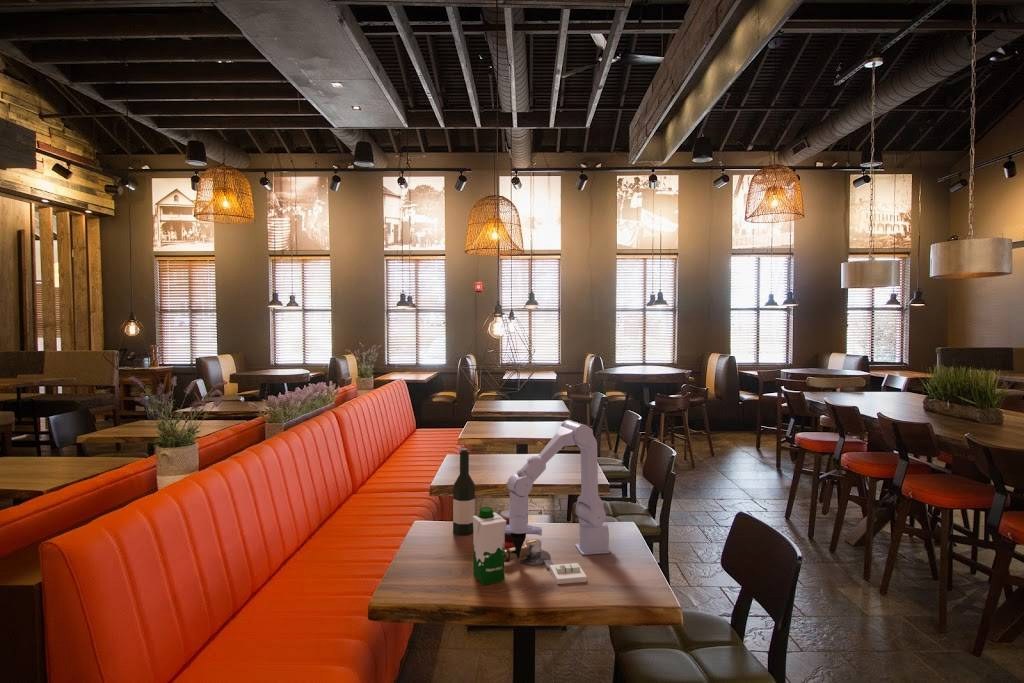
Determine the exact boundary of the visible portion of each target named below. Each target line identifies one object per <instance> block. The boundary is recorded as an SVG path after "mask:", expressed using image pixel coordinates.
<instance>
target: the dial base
mask: <svg viewBox="0 0 1024 683" xmlns="http://www.w3.org/2000/svg"><path fill="white" fill-rule="evenodd" d="M551 558H552V557H551V554H550V553H549V552H548V551H547V550H544V549H541V557H540V558H534V559H531V558H528V557H523V558H519V559H516V560H517V562H519V563H520V564H523V565H526V566H534V567H535V566H542V565H544V566H545V569H546V570H547V571H550V570H549V565H554V563H553V561H552V560H551Z"/></svg>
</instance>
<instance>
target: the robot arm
mask: <svg viewBox="0 0 1024 683" xmlns="http://www.w3.org/2000/svg"><path fill="white" fill-rule="evenodd" d="M575 445H576V446H577V447H578V448H579V449H580V477H581V478H580V486H581V487H580V488H581V489H580V490H581V493H580V495H579V496H577V503H576V506H575V511H574V512H575V514H576V516H577V517H578V521H579V527H578V528H579V531H578V532H579V533H578V536H579V538H578V543H575V544H574V545H575V547H576V548H577V550H578V551H579V552H580V554H581V555H582V556H585V555H600V554H601V555H602V554H609V553H610V546H609V545H610V544H609V543H610V532H609V526H608V524H607V522H606V519H607V513H606V510H605V508H604V502H603V501H602V499H601V497H600V496H599V482H598V481H599V475H598V473H599V472H598V470H599V469H598V468H599V467H598V466H599V465H598V442H597V439H596V437H595V436H594V429H592V428H591V427H589V425H586V424H582V423H579V422H576V421H573V420H571V419H567V420H564V421H563V422H562V423H561V425H560V426H558V427H557V428H556V433H555V434H554V435H553V436H552V438H551V439H550V440H549V442H547V444H546V445H545V447H544V448H543V449H542V450H541V452H539V454H538V455H533V456H531V457H529V458H528V459H527V460H526V463H525V464H524V465H522V467H521V468H520V469H518V470H517V471H516V473H514V474H511V475H510V476H509V478H508V479H507V482H506V484H505V485H506V488H507V489H508V491H509V509H510V517H509V525H506V526H505V533H509V534H511V540H512V542H513V544H514V546H515V549H516V553H517V558H519V556H520V551H521V548H522V545H524V542H526V538H527V535H536V536H537V535H538V536H542V535H543V527H542V526H536V525H535V526H534V525H529V521H528V520H529V494H530V493H531V492H532V489H533V485H534V483H535V482H536V480H538V478H539V477H540V476H541V475H542V474H543V473H544V472H545V471H546V469H547V463H548V462H549V461H550V460H552V458H553V457H554V456H555V455H556V454H557V453H558V452H559V451H560V450H562V448H563V447H569V446H575Z"/></svg>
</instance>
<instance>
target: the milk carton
mask: <svg viewBox="0 0 1024 683" xmlns="http://www.w3.org/2000/svg"><path fill="white" fill-rule="evenodd" d="M505 526H506V520H504V519H503V517H501V514H499V513H497V512H496V511H494V509H493V508H492V507H490V506H483V507H481V508H479V514H475V516H473V534H472V535H473V545H472V546H473V547H472V550H473V551H472V553H473V554H472V557H473V558H472V559H473V563H472V564H473V565H472V567H473V568H472V569H473V573H472V574H473V576H474V577H475V578H476V579H477V581H479V583H481V585H482V586H486V585H489V584H494V583H495V584H496V583H500V582H502V581H503V582H504V581H505V580H506V579H505V576H506V575H505V562H504V549H505V548H504V542H505Z"/></svg>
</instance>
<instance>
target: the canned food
mask: <svg viewBox="0 0 1024 683" xmlns="http://www.w3.org/2000/svg"><path fill="white" fill-rule="evenodd" d="M500 516H501V517H503V519H504V520H506V525H509V517H510V508H509V509H505V510H503V511H501V513H500ZM514 547H515V546H514V544H513V542H512V540H511V534H509V533H505V542H504V549H510V548H514Z"/></svg>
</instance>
